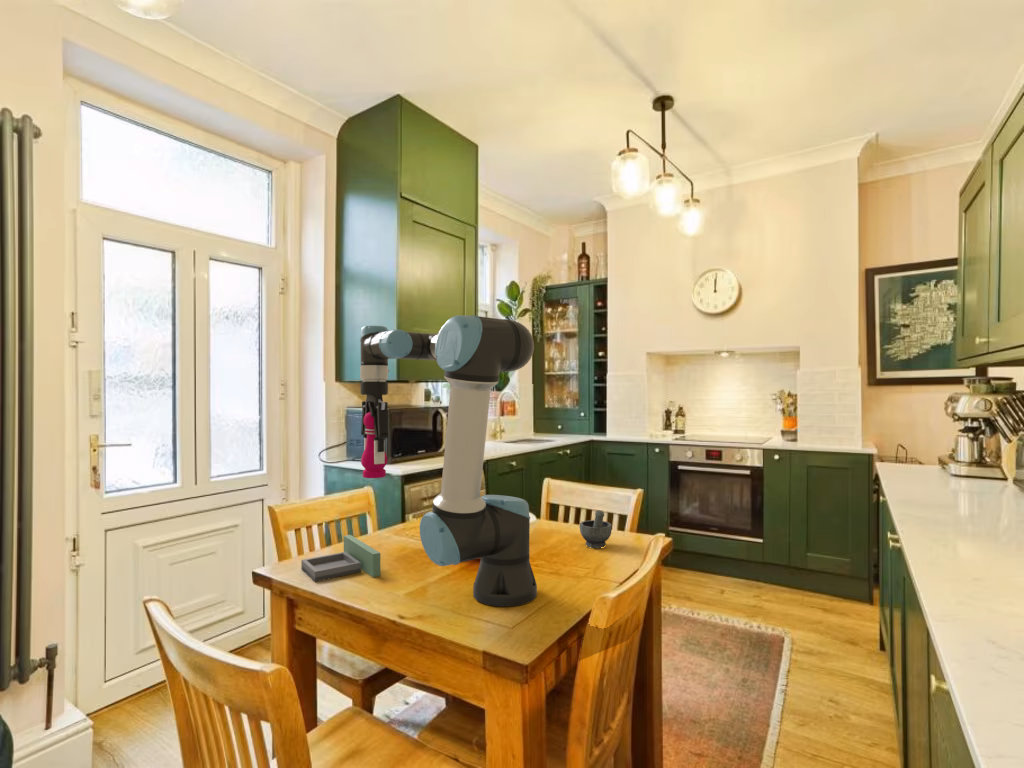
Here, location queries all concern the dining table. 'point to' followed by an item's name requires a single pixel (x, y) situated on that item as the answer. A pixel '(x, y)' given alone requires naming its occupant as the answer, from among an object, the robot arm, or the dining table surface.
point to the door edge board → (363, 555)
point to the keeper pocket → (330, 566)
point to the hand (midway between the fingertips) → (374, 461)
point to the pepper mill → (371, 452)
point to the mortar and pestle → (596, 531)
